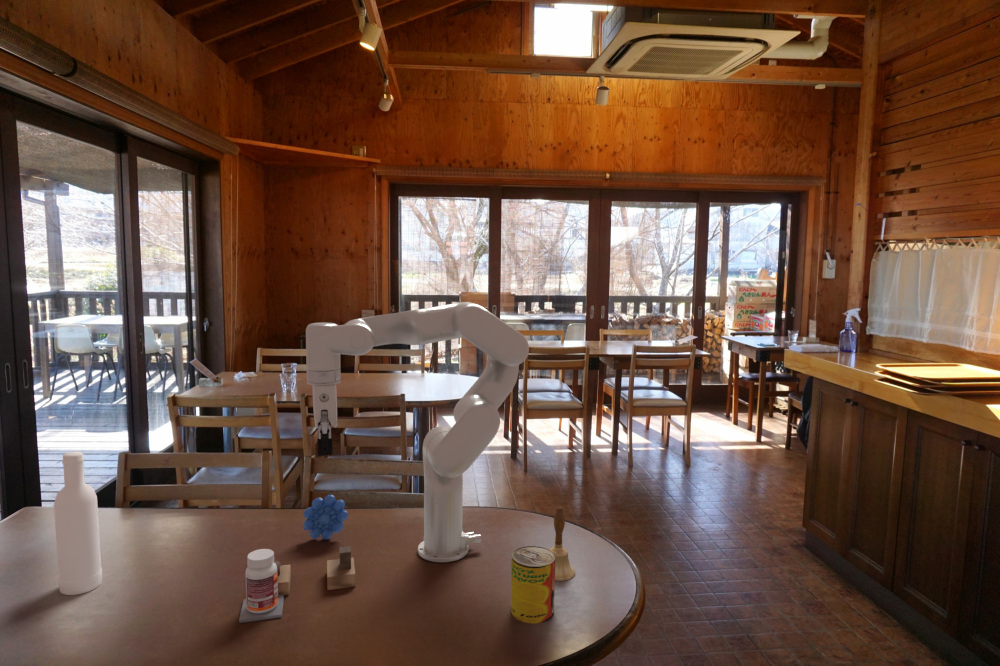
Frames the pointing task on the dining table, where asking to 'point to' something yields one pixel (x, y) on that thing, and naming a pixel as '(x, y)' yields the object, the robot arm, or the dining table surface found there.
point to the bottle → (77, 530)
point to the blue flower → (325, 517)
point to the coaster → (249, 616)
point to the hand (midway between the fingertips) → (325, 448)
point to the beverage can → (532, 584)
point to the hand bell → (561, 550)
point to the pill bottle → (261, 581)
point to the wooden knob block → (337, 573)
